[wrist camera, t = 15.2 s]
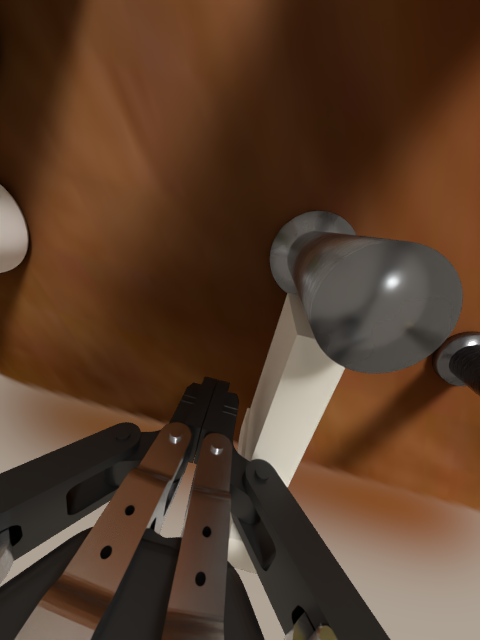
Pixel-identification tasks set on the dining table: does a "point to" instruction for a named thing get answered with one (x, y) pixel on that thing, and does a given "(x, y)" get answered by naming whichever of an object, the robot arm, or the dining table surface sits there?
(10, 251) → the can
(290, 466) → the gate
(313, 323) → the hinge post
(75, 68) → the dining table surface
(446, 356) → the post
